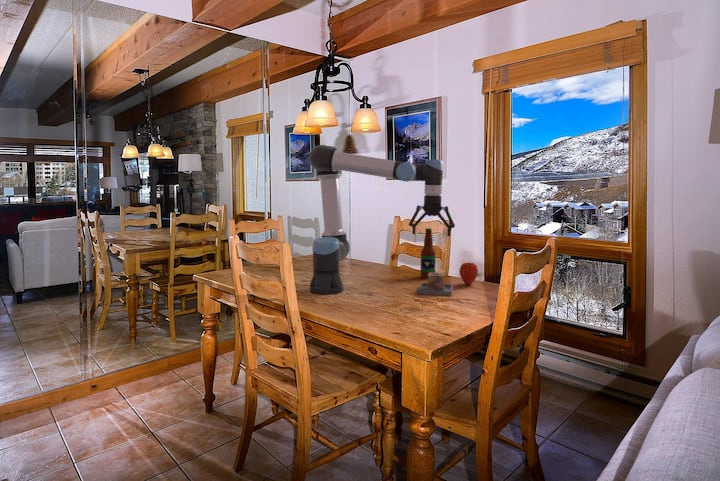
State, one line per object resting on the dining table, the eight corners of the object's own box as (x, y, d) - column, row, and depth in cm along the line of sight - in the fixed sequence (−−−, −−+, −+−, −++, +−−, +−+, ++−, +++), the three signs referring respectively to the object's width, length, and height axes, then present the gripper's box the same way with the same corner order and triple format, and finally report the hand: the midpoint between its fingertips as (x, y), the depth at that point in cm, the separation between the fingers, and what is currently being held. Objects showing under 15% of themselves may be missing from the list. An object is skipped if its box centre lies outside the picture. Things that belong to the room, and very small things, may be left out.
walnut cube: (427, 291, 203) (427, 275, 203) (428, 287, 210) (429, 272, 209) (443, 291, 202) (444, 276, 201) (444, 288, 209) (444, 273, 208)
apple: (466, 287, 213) (466, 264, 211) (455, 283, 221) (455, 261, 219) (481, 285, 216) (482, 262, 215) (469, 281, 224) (470, 260, 223)
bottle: (418, 278, 233) (419, 228, 229) (423, 275, 239) (423, 227, 236) (432, 279, 230) (433, 229, 226) (436, 276, 236) (437, 228, 233)
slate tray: (418, 293, 201) (418, 289, 201) (421, 286, 214) (421, 282, 214) (451, 295, 198) (451, 291, 198) (452, 288, 211) (452, 284, 211)
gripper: (403, 194, 203) (402, 242, 206) (461, 196, 197) (459, 245, 200) (406, 193, 210) (404, 239, 213) (462, 195, 204) (459, 242, 207)
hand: (431, 242), depth 207 cm, fingers open, 13 cm apart
